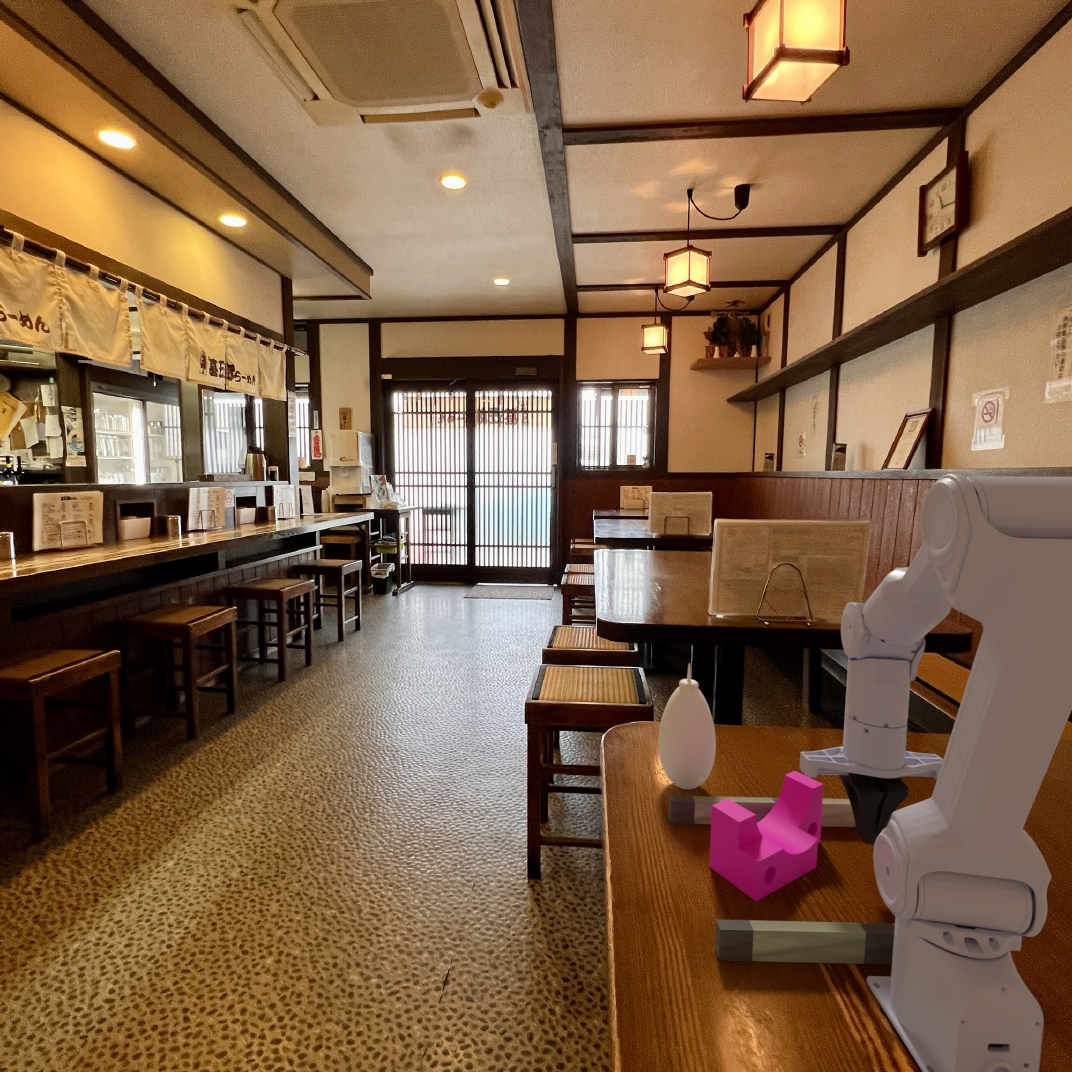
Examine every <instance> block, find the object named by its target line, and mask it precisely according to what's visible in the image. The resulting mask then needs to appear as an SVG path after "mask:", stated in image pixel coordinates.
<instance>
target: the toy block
mask: <svg viewBox="0 0 1072 1072" xmlns="http://www.w3.org/2000/svg"><path fill="white" fill-rule="evenodd" d="M823 795H824V784H823V783H822V782H820V781H818V780H815V778H814V779H813V778H812V777H807V776H806V775H805V774H804V773H800V772H799V771H796V770H793V771H791V772H788V773H786V774H784V778H783V783H782V787H781V790H780V793H779V796H778V797H777V798H778V799H777V801H776V803H775V805H774V807H773V808H772V810H771V811H770V812H769V813H768V814H767V816H765V817H764V818H763V819H762V820H761V821H759V822H758V823H757V821H756V814H754V813H752V812H750V811H749V810H747V809H745V808H743V807H742V806H740V805H738V804H737V803H735V802H733V801H731V800H730V799H726V800H723V801H721V802H719V803H716V804H714V805H712V810H711V824H710V846H709V868H710V869H711V870H713V871H714V872H715V873H717V874H718V875H720V876H721V877H723V878H724V879H725V880H727V881H728V882H730V883H731V884H732V885H733V886H735V887H736V888H738V889H739V890H740V891H741V892H743V893H744V894H745V895H747V896H749V897H750V898H751V899H752V900H754V901H755V902H758V901H760V900H762V899H764V898H765V897H767V896H769V895H771V894H772V893H774V892H776V891H777V889H778V890H779V889H781V888H783V887H785V886H786V885H788V884H790V883H791V882H792V883H793V881H795V880H797V879H798V878H800V877H802V876H803V875H805V874H807V873H808V872H811V871H813V870H814V869H816V868H817V867H818V865H817V864H818V863H817V861H818V860H817V859H818V844H820V843H821V837H822V836H821V835H822V832H821V831H822V826H821V818H822V799H824V798H823ZM773 891H774V892H773ZM771 892H772V893H771ZM770 893H771V894H770ZM768 894H769V895H768Z"/></svg>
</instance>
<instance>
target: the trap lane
mask: <svg viewBox="0 0 1072 1072" xmlns="http://www.w3.org/2000/svg"><path fill="white" fill-rule="evenodd" d="M726 799H730V800H731V801H733V802H735V803H737V804H738V805H740V806H742V807H743V808H745V809H747V810H749V811H750V812H752V813H754V814H756V821H757V823H758V822H759V821H761V820H762V819H763V818H764V817H765V816H767V814H768V813H769V812H770V811H771V810H772V808H773V807H774V805H775V803H776V801H777V799H778V797H759V796H757V797H754V796H753V797H751V796H750V797H749V796H711V795H710V796H704V795H703V796H702V795H699V796H698V795H669V796H668V816H667V817H668V821H669V824H674V825H675V824H680V825H681V824H683V825H684V824H685V825H687V824H688V825H690V824H691V825H711V810H712V805H714V804H716V803H719V802H721V801H723V800H726ZM821 827H838V828H839V827H841V828H842V827H843V828H856V825H855V820H854V815H853V811H852V807H851V804H850V801H849V798H822V818H821ZM894 930H895V923H886V922H885V923H881V922H879V923H878V922H841V921H840V922H837V921H834V922H833V921H800V920H799V921H795V920H794V921H791V920H752V919H749V920H748V919H745V920H744V919H716V920H715V939H714V940H715V943H714V950H715V953H716V956H717V959H718V961H726V962H727V961H729V962H730V961H731V962H732V961H734V962H768V963H769V962H772V963H774V962H775V963H808V964H809V963H813V964H814V963H815V964H853V965H857V964H858V965H859V964H862V965H891V966H892V958H893V944H894Z"/></svg>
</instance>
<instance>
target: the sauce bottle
mask: <svg viewBox="0 0 1072 1072" xmlns="http://www.w3.org/2000/svg"><path fill="white" fill-rule="evenodd" d="M691 668H692V667H691V663H690V662H689V663H688V666H687V675H686V677H687V678H683V679H680V680H679V681H678V682H679V683H678V685H679V686H678V687H677V688H676V689H675V690H674V691H673V692H672V694H671V695H670V697H669V699H668V701H667V702H666V706H665V708H664V710H663V713H662V716H661V720H660V724H659V731H658V739H657V740H658V743H657V745H658V754H659V755H658V756H659V760H660V763H661V767H662V769H663V771H664V773H665V775H666V777H667V778H668V779H669V781H671V782H672V783H673V785H674V786H676V787H677V788H680V789H682V790H692V789H696V788H698V786H701V785H703V784H704V783H705V782H706V780H707V779H708V777H709V776H710V774H711V771H712V770H713V767H714V763H715V758H716V751H717V750H716V748H717V739H716V738H717V737H716V729H715V723H714V719H713V716H712V713H711V710H710V707H709V704H708V702H707V699H706V697H705V696H704V694H703V693H702V691H701V689H699V683H698V681H696V680H695V679H691V678H692V677H691V675H692V670H691Z"/></svg>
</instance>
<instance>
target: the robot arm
mask: <svg viewBox="0 0 1072 1072" xmlns="http://www.w3.org/2000/svg"><path fill="white" fill-rule="evenodd" d="M922 502H923V503H922V505H921V509H920V517H919V518H920V519H919V529H920V538H921V541H922V545H921V546H920V548H919V549H918V551H917V553H916V555H915V557H914V558H913V560H912V561H911V563H910V564H909V566H908V567H895V568H894V569H893V570H892V571H890V572H889V573H888V574H887V575H886V576H885V577H884V578H883V580H882V581H881V582H880V584H878V586H877V587H876V589H875V590H874V591H873V592H872V594H871V595H870V596H869V597H868V598H867V600H866V601H865V602H855V601H851V602H847V603H846V605H845V607H844V609H843V613H842V616H841V619H840V620H841V621H840V622H841V623H840V639H841V643H842V648H843V651H844V653H845V655H846V657H848V658H847V672H846V673H847V674H846V687H845V688H846V689H845V705H844V706H845V708H844V722H843V725H844V726H843V739H842V740H843V741H842V745H841V746H837V747H831V748H825V749H820V750H814V751H813V750H812V751H800V752H799V753H800V756H799V769H800V771H801V772H802V774H803V775H805V776H807V777H809V778H811V779H813V778H814V779H815V778H817V777H818V775H827V776H830V775H831V776H838V777H839V779H840V781H841V783H842V785H843V787H844V789H845V792H846V794H847V797H848V798H847V799H849V801H850V804H851V807H852V811H853V815H854V820H855V825H856V827H855V832H856V835H857V836H858V837H859V838H860V840H862V841H863V843H864V844H865V845H874V846H873V857H872V858H873V859H872V860H873V870H874V875H875V876H874V877H875V881H876V885H877V888H878V891H879V895H880V897H881V899H882V901H883V903H884V904H885V905H886V907H887V908H888V909H889V911H890V912H891V913H892V914H893V916H895V917H894V920H895V921H894V924H895V930H894V944H893V958H892V965H891V972H890V976H886V975H885V976H883V975H879V976H878V975H868V976H867V977H866V984H867V986H868V987H869V989H870V991H871V992H872V993H873V995H874V997H875V998H876V1000H877V1002H878V1003H879V1004H880V1006H881V1009H882V1010H883V1012H884V1013H885V1014H886V1017H888V1019H889V1021H890V1022H891V1024H892V1026H893V1028H895V1031H896V1032H897V1033H898V1035H899V1036H900V1038H901V1040H902V1042H903V1043H904V1045H905V1046H906V1047H907V1049H908V1051H909V1052H910V1054H911V1056H912V1057H913V1058H914V1060H915V1062H916V1063H917V1066H918V1067H919V1068H920V1070H921V1071H922V1072H1040V1063H1041V1054H1042V1044H1043V1036H1044V1035H1043V1034H1044V1023H1045V1022H1044V1021H1045V1020H1044V1014H1043V1010H1042V1008H1041V1005H1040V1003H1039V1002H1038V1000H1037V998H1036V997H1035V996H1034V995H1033V993H1032V992H1031V991H1030V989H1029V987H1027V985H1026V984H1025V982H1024V980H1023V979H1022V977H1021V975H1020V974H1019V972H1018V970H1017V967H1016V965H1015V962H1014V960H1013V957H1012V953H1011V952H1012V951H1014V952H1015V951H1018V952H1020V951H1021V949H1022V941H1023V936H1024V937H1028V938H1030V937H1031V938H1032V937H1033V938H1034V937H1036V936H1037V935H1038V934H1040V932H1042V930H1043V927H1044V925H1045V923H1046V920H1047V916H1048V899H1047V892H1048V887H1049V884H1050V882H1051V880H1052V875H1051V872H1050V869H1049V867H1048V864H1047V863H1046V860H1045V858H1044V856H1043V854H1042V852H1041V851H1040V849H1039V848H1038V846H1037V844H1036V842H1035V841H1034V840H1033V838H1032V837H1031V836H1030V835H1029V834H1028V832H1026V830H1025V829H1023V828H1024V827H1025V824H1026V821H1027V818H1028V817H1029V814H1030V812H1031V809H1032V807H1033V804H1034V802H1035V799H1036V797H1037V794H1038V792H1039V790H1040V787H1041V785H1042V782H1043V781H1044V778H1045V776H1046V773H1047V771H1048V769H1049V766H1050V763H1051V760H1052V758H1053V755H1054V754H1055V751H1056V748H1057V746H1058V744H1059V741H1060V739H1061V737H1062V734H1063V732H1064V729H1065V728H1066V727H1065V726H1066V724H1067V721H1068V720H1069V717H1070V715H1071V713H1072V476H1028V475H1027V476H1025V475H1024V476H1023V475H1022V476H1017V475H1016V476H1014V475H1012V476H1011V475H1010V476H1009V475H1007V476H1004V475H1002V476H1000V475H999V476H998V475H997V476H994V475H992V476H991V475H983V476H982V475H980V476H979V475H975V476H974V475H973V476H972V475H967V476H966V475H962V474H960V473H947V474H944V475H942V476H940V477H939V478H938V479H937V480H936V481H935V482H934V484H933V485H931V487H930V488H929V489H928V490H927V492H926V494H925V496H924V499H923V501H922ZM951 609H954V610H956V611H958V612H960V613H962V614H964V615H966V616H968V617H969V618H972V619H973V620H975V621H977V622H979V623H981V625H982V628H983V629H982V633H981V637H980V640H979V643H978V647H977V650H976V653H975V656H974V659H973V663H972V666H971V669H970V672H969V676H968V677H967V682H966V685H965V687H964V688H965V689H964V692H963V695H962V699H961V702H960V704H959V708H958V711H957V715H956V717H955V721H954V723H953V728H952V731H951V733H950V734H951V735H950V736H949V740H948V743H947V746H946V750H945V754H944V756H943V758H942V757H940V756H939V755H937V754H935V753H922V752H916V751H908V750H906V748H907V747H906V746H907V732H908V731H907V730H908V719H909V718H908V717H909V703H910V691H911V690H910V689H911V688H910V687H911V682H912V681H915V680H916V677H917V676H918V666H919V663H920V661H921V659H922V657H923V656H924V651H925V648H926V647H925V646H926V640H925V636H926V635H927V634H928V633H929V632H930V631H932V630H933V629H934V628H935V627H937V626H938V624H940V623H941V622H943V620H944V619H945V618H946V617H947V616H948V615H949V614H950V612H951ZM903 777H929V778H930V777H932V778H934V779H935V780H936V781H935V782H936V783H935V785H934V789H933V791H932V794H931V797H929V798H927V799H924V800H922V801H919V802H918V801H917V802H916V803H913V804H910V805H906V806H905V807H902V808H899V809H898V807H899V806H900V805H902V803H903V802H904V801H905V800H906V799H908V797H909V792H910V791H909V789H910V788H909V786H908V785H907V783H905V782H904V781H903V780H902V778H903Z"/></svg>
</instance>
